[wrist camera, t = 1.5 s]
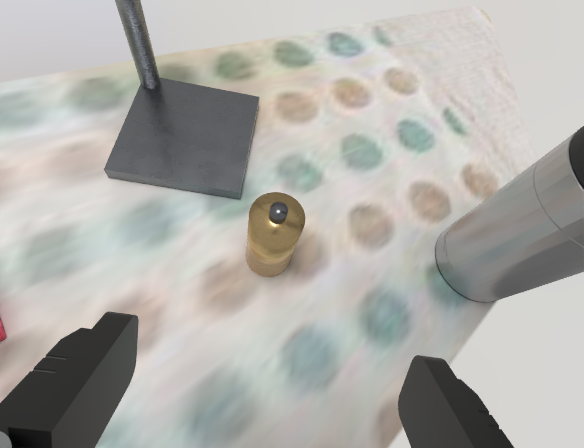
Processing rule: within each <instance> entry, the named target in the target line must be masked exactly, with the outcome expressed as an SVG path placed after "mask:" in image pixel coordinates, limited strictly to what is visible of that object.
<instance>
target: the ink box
mask: <svg viewBox="0 0 584 448" xmlns="http://www.w3.org/2000/svg"><path fill="white" fill-rule="evenodd" d="M5 338H6V335H5V332H4V329H3V326H2V322H1V319H0V341H2V340H4V339H5Z"/></svg>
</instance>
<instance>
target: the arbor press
mask: <svg viewBox="0 0 584 448" xmlns="http://www.w3.org/2000/svg"><path fill="white" fill-rule="evenodd" d="M115 2H116V5H117V8H118V11H119V14H120V18H121V21H122V24H123V27H124V30H125V34H126V37H127V40H128V43H129V46H130V49H131V53H132V56H133V59H134V62H135V66H136V69H137V72H138V75H139V78H140V82H141V85H140V87H139V89H138V92H137V94H136V96H135V99H134V101H133V103H132V106H131V108H130V110H129V112H128V115H127V117H126V119H125V122H124V124H123V126H122V129H121V131H120V133H119V136H118V138H117V140H116V143H115V145H114V147H113V150H112V152H111V154H110V156H109V159H108V161H107V163H106V166H105V168H104V170H105V172H106V174H107V175H108V177H109V178H115V179H121V180H127V181H133V182H139V183H145V184H151V185H157V186H163V187H168V188H174V189H180V190H186V191H192V192H198V193H204V194H210V195H216V196H222V197H228V198H234V199H240V195H241V190H242V185H243V180H244V175H245V171H246V166H247V161H248V156H249V151H250V146H251V141H252V136H253V131H254V127H255V122H256V117H257V112H258V107H259V97H256V96H251V95H246V94H241V93H236V92H231V91H225V90H220V89H215V88H210V87H205V86H200V85H194V84H189V83H184V82H179V81H174V80H169V79H163V78H159V74H158V70H157V66H156V62H155V58H154V54H153V51H152V46H151V42H150V38H149V34H148V30H147V26H146V22H145V18H144V14H143V10H142V6H141V2H140V0H115Z"/></svg>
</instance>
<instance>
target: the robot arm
mask: <svg viewBox="0 0 584 448" xmlns="http://www.w3.org/2000/svg"><path fill="white" fill-rule="evenodd" d="M436 260H437V264H438V267H439V269H440V272H441V273H442V275H443V277H444V278H445V280H446V281H447V282H448V283H449V285H450V286H451V287H452V288H453V289H455V290H456V291H457V292H458V293H460V294H461V295H463V296H465V297H466V298H469V299H471V300H474V301H478V302H493V301H496V300H499V299H502V298H505V297H508V296H511V295H514V294H517V293H521V292H524V291H527V290H530V289H533V288H536V287H539V286H542V285H545V284H548V283H551V282H554V281H557V280H560V279H563V278H566V277H569V276H572V275H575V274H578V273H581V272H584V126H583V127H582V128H580V129H579V130H578V131H577V132H575V133H574V134H573V135H571V136H570V137H569V138H568V139H566V140H565V141H563V142H562V143H561V144H560V145H558V146H557V147H556V148H554V149H553V150H551V151H550V152H549V153H547V154H546V155H545V156H544V157H542V158H541V159H540V160H538V161H537V162H536V163H534V164H533V165H532V166H530V167H529V168H528V169H526V170H525V171H524V172H522V173H521V174H520V175H518V176H517V177H516V178H514V179H513V180H512V181H510V182H509V183H508V184H506V185H505V186H504V187H502V188H501V189H499V190H498V191H497V192H495V193H494V194H493V195H491V196H490V197H489V198H487V199H486V200H485V201H483V202H482V203H481V204H479V205H478V206H477V207H475V208H474V209H473V210H471V211H470V212H469V213H467V214H466V215H465V216H463V217H462V218H461V219H459V220H458V221H457V222H455V223H454V224H453V225H451V226H450V227H449V228H447V229H446V230H445V231H444V232H443V233H442V234H441V235H440V237H439V239H438V241H437V244H436ZM137 338H138V317H137V316H136V315H130V314H123V313H115V312H107V313H105V314H104V315H103V317H102V318H101V319H100V320H99V321H98V322H97V324H96V325H95V326H94V327H93V328H92V329H86V328H80V329H78V330H77V331H75V332H73V333H71V334H70V335H68V336H66V337H64V338H63V339H61V340H60V341H59V342H58V343H57V344H56V345H55V346H54V347H53V348H52V349H51V350H50V351H49V353H48V354H47V355H46V357H45V358H43V359H42V360H41V361H40V362H39V363H38V364H37V365H36V366H35V367H34V370H33V371H32V372H31V371H30V372H29V374H28V375H27V376H26V377H25V378H24V379H23V380H22V381H21V382H20V383H19V384H18V385H17V386H16V387H15V388H14V389H13V390H12V391H11V392H10V393H9V395H8V396H7V397H6V398H5V399H4V400H3V401H2V402H1V403H0V448H95V446H96V444H97V443H98V441H99V439H100V437H101V435H102V433H103V432H104V430H105V428H106V426H107V424H108V422H109V421H110V419H111V417H112V415H113V413H114V412H115V410H116V408H117V406H118V404H119V402H120V401H121V399H122V397H123V395H124V393H125V391H126V390H127V388H128V386H129V384H130V382H131V379H132V376H133V373H134V370H135V365H136V355H137ZM398 410H399V416H400V419H401V422H402V425H403V427H404V430H405V432H406V435H407V437H408V440H409V442H410V445H411V448H514V447H513V445H512V444H511V443H510V441H509V440H508V439H507V437H506V435H505V434H504V433H503V431H502V430H501V429H499V425H498V424H497V422H496V421H495V419H494V418H493V417H492V415H489V411H488V409H487V408H486V406H485V405H484V404H483V402H482V401H481V399H480V398H479V396H478V395H477V394H476V393H475V392H474V391H473V390H472V389H470V388H469V387H468V386H467V385H466V384H465V383H464V382H463V381H462V380H460V379H457V378H456V376H455V375H454V373H453V371H452V370H451V368H450V367H449V365H448V364H447V362H446V361H445V360H443V359H441V358H433V357H426V356H419V355H417V356H415V357H414V358H413V360H412V362H411V365H410V368H409V370H408V373H407V376H406V379H405V381H404V384H403V387H402V390H401V392H400V395H399V401H398Z"/></svg>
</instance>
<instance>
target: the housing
mask: <svg viewBox="0 0 584 448" xmlns="http://www.w3.org/2000/svg"><path fill="white" fill-rule="evenodd" d="M304 225H305V213H304V210H303V208H302V206H301V205H300V203H299V202H298V201H297V200H296V199H294V198H293V197H291V196H289V195H287V194H284V193H278V192H273V193H267V194H264V195H262V196H260V197H259V198H258V199H256V200H255V202H254V203H253V204H252V206H251V208H250V212H249V222H248V236H247V249H246V260H247V263H248V265H249V267H250V268H251V269H252V271H254V272H255V273H256V274H258V275H261V276H265V277H272V276H276V275H278V274H280V273H282V272H283V271H284V270H285V269H286V267H287V265H288V263H289V261H290V258H291V256H292V254H293V251H294V249H295V247H296V244H297V242H298V239H299V237H300V235H301V232H302V230H303V228H304Z"/></svg>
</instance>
